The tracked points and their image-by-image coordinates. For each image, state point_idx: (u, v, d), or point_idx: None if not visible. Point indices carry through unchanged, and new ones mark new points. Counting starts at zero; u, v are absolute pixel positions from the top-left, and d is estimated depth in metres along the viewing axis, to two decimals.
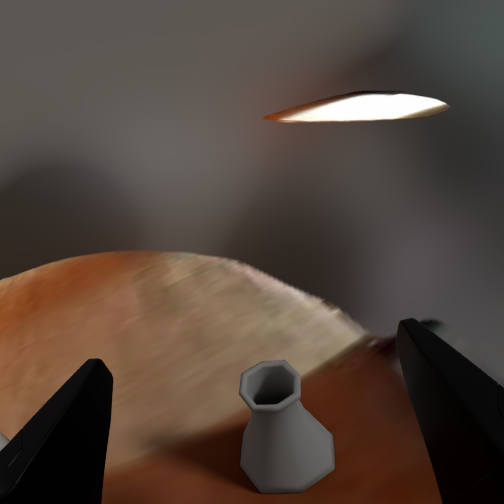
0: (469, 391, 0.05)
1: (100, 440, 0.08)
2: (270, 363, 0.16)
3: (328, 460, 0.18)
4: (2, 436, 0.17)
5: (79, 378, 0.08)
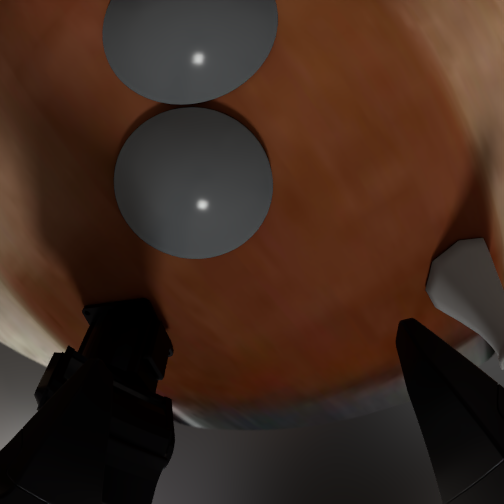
0: (469, 391, 0.05)
1: (100, 440, 0.08)
2: None
3: None
4: None
5: (79, 378, 0.08)
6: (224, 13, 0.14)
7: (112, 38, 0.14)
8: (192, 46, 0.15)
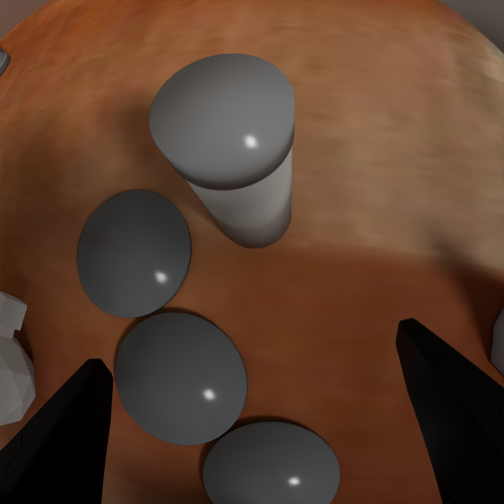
0: (469, 391, 0.05)
1: (100, 440, 0.08)
2: None
3: None
4: None
5: (79, 378, 0.08)
6: (193, 360, 0.21)
7: (140, 417, 0.21)
8: (194, 395, 0.21)
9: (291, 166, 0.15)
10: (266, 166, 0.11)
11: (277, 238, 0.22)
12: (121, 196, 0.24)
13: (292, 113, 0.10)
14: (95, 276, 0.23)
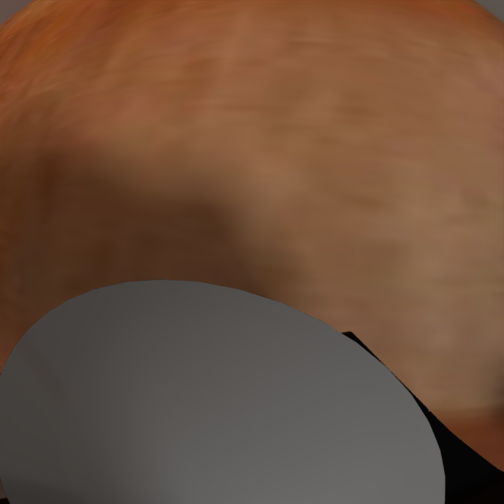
0: None
1: None
2: None
3: None
4: None
5: None
6: None
7: None
8: None
9: None
10: None
11: None
12: None
13: None
14: None
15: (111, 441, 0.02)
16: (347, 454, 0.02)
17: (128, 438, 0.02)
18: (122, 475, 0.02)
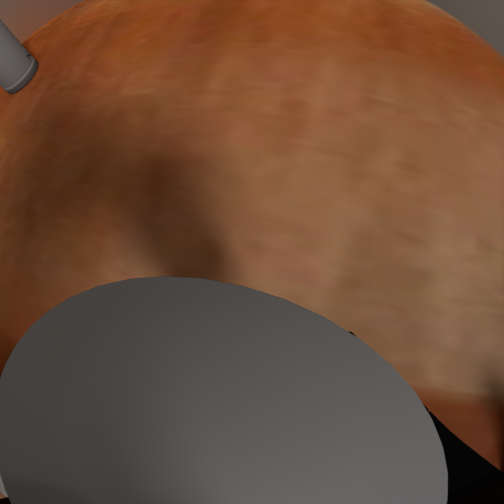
0: None
1: None
2: None
3: None
4: None
5: None
6: None
7: None
8: None
9: None
10: None
11: None
12: None
13: None
14: None
15: (113, 439, 0.02)
16: (351, 451, 0.02)
17: (131, 436, 0.02)
18: (124, 473, 0.02)
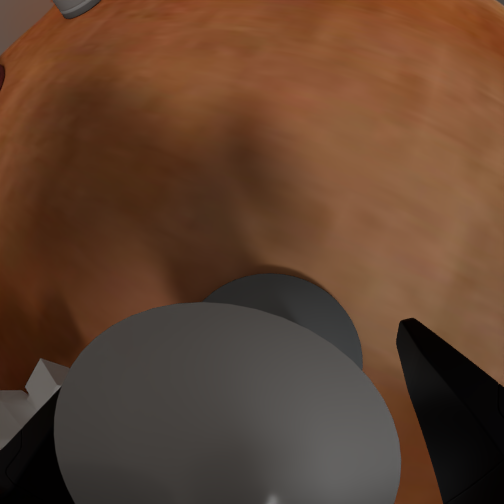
0: (470, 391, 0.05)
1: None
2: None
3: None
4: None
5: None
6: None
7: None
8: None
9: None
10: None
11: None
12: (272, 279, 0.17)
13: None
14: None
15: (164, 415, 0.04)
16: (327, 418, 0.04)
17: (177, 412, 0.04)
18: (171, 440, 0.04)
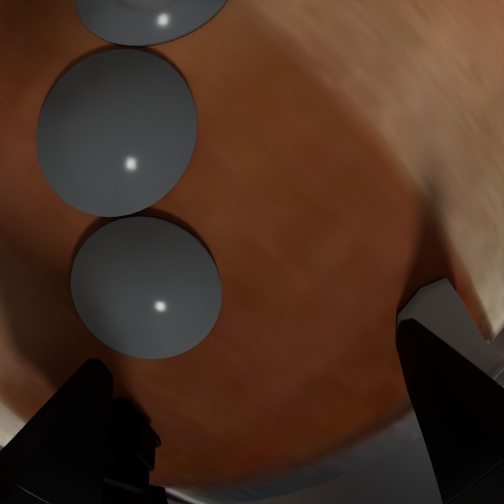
0: (469, 391, 0.05)
1: (100, 440, 0.08)
2: None
3: None
4: None
5: (79, 378, 0.08)
6: (144, 116, 0.16)
7: (46, 155, 0.16)
8: (120, 156, 0.17)
9: None
10: None
11: (162, 3, 0.13)
12: None
13: None
14: None
15: None
16: None
17: None
18: None
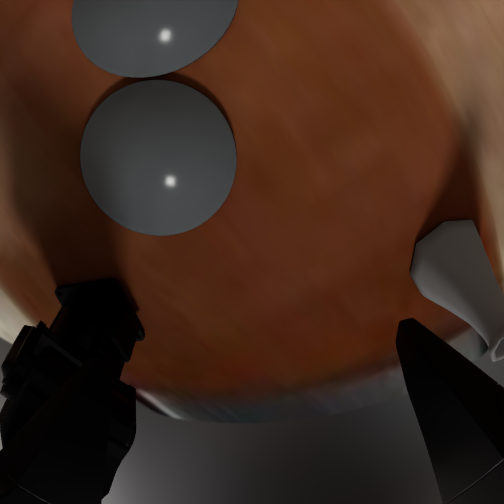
0: (469, 391, 0.05)
1: (100, 440, 0.08)
2: None
3: (432, 300, 0.23)
4: None
5: (79, 378, 0.08)
6: None
7: (80, 18, 0.13)
8: (154, 20, 0.14)
9: None
10: None
11: None
12: None
13: None
14: None
15: None
16: None
17: None
18: None
